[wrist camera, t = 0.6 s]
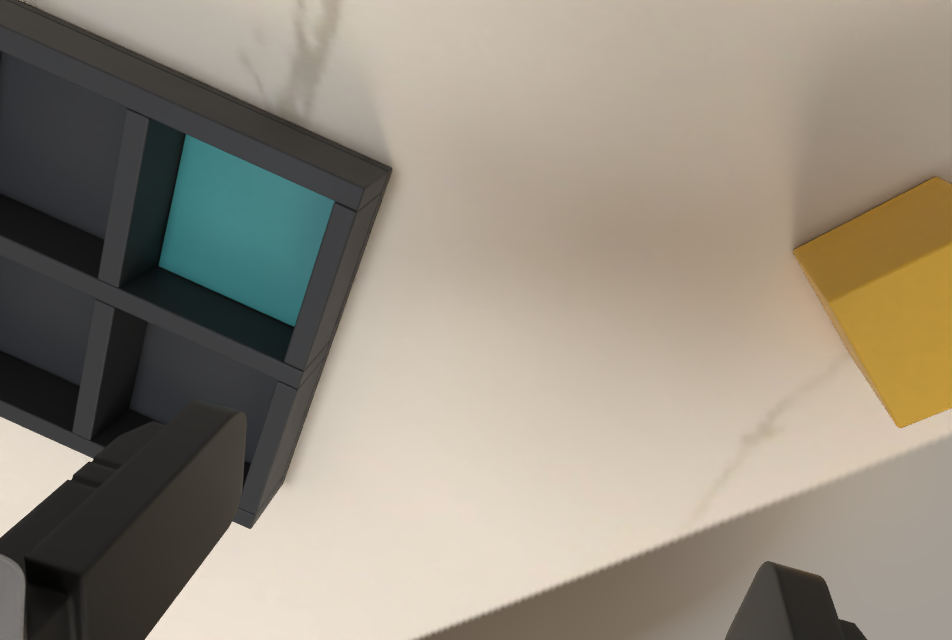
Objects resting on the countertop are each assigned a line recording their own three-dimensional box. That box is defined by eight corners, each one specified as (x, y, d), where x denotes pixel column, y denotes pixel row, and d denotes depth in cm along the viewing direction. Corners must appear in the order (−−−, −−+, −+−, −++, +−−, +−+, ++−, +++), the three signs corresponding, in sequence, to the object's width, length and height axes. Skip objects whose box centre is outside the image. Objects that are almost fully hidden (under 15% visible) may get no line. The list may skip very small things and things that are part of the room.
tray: (-5, -11, 25) (-82, -12, 22) (393, 168, 25) (365, 188, 22) (-33, 342, 31) (-95, 374, 28) (282, 484, 31) (250, 530, 28)
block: (936, 174, 22) (1009, 214, 18) (996, 295, 23) (1077, 358, 19) (791, 249, 23) (827, 302, 19) (852, 359, 24) (899, 430, 20)
